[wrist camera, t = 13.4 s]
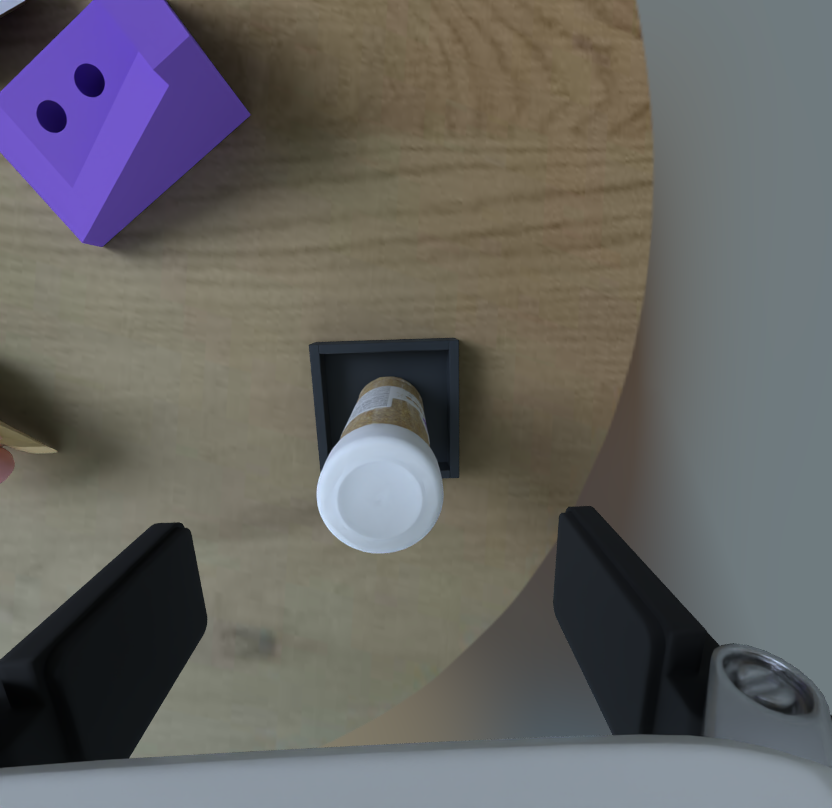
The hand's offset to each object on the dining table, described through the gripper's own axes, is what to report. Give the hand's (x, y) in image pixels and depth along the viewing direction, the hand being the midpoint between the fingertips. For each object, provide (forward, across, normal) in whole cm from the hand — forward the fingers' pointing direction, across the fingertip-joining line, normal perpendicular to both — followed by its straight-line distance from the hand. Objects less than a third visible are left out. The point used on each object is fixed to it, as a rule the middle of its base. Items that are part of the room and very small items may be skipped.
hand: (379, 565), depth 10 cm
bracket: (+18, +14, -16) cm, 28 cm away
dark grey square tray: (+18, 0, +1) cm, 18 cm away
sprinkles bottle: (+18, 0, 0) cm, 18 cm away
